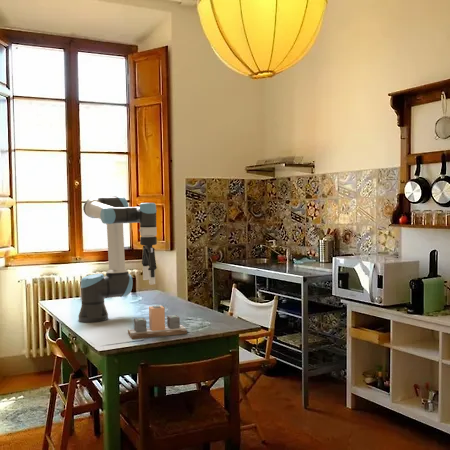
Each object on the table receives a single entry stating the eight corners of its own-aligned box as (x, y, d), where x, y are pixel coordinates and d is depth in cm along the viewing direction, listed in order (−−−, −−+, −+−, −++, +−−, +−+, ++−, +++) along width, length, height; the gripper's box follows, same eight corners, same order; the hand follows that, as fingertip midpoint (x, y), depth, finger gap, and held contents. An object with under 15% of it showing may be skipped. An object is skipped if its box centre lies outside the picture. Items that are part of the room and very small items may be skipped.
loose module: (149, 328, 246) (148, 306, 246) (162, 326, 248) (161, 304, 248) (152, 330, 240) (151, 308, 240) (165, 329, 242) (164, 307, 242)
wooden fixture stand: (127, 333, 246) (127, 317, 246) (180, 328, 254) (179, 312, 254) (132, 339, 234) (131, 322, 234) (186, 333, 243) (186, 317, 242)
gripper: (135, 234, 254) (136, 278, 256) (145, 238, 231) (146, 286, 232) (150, 234, 257) (151, 277, 258) (162, 237, 234) (163, 285, 235)
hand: (149, 282), depth 245 cm, fingers open, 13 cm apart
